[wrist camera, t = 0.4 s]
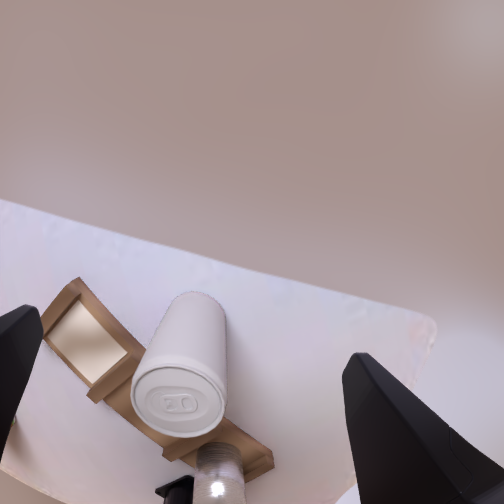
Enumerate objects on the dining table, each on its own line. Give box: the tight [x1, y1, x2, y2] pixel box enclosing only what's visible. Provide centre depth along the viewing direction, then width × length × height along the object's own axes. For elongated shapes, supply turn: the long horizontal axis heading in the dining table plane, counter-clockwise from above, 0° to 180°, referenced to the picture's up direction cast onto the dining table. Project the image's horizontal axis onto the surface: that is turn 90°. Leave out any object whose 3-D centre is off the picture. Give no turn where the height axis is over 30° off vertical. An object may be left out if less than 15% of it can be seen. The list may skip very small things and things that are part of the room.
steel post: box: [193, 442, 247, 504], centre depth 22 cm, size 5×5×7 cm
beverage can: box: [130, 291, 227, 438], centre depth 18 cm, size 5×5×12 cm
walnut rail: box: [40, 277, 275, 484], centre depth 24 cm, size 26×7×3 cm, turn 41°
